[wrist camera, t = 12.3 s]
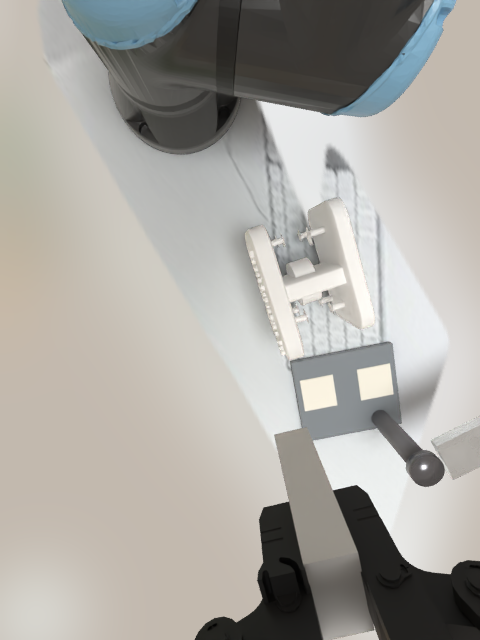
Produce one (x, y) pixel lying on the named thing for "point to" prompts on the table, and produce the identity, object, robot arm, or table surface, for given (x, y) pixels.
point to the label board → (351, 395)
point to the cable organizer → (312, 275)
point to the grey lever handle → (447, 455)
